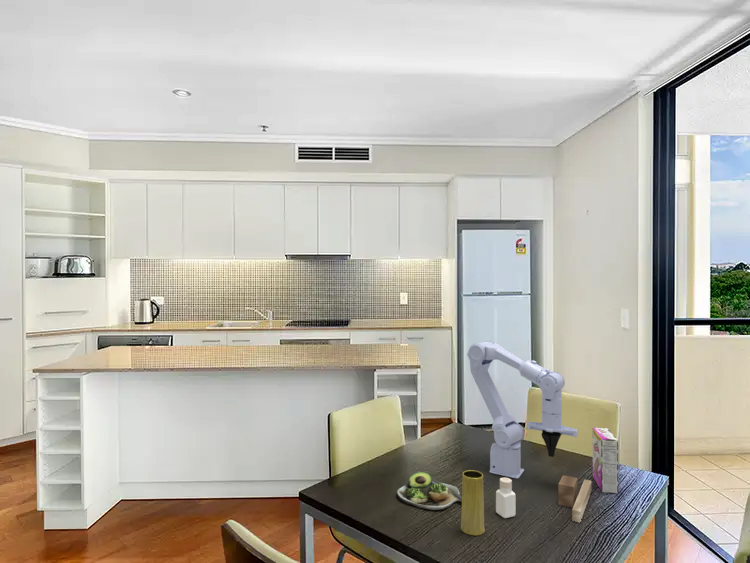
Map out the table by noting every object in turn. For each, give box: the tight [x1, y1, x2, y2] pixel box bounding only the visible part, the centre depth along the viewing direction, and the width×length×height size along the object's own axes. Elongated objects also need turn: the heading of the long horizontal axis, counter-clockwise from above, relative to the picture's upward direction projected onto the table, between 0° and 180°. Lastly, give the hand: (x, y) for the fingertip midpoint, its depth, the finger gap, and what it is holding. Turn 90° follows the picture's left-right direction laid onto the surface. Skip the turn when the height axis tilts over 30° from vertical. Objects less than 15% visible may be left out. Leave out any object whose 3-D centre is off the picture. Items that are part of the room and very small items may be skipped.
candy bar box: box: [591, 427, 619, 495], centre depth 145 cm, size 11×5×16 cm, turn 168°
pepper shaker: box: [495, 477, 517, 519], centre depth 127 cm, size 4×4×10 cm
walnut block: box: [557, 475, 578, 509], centre depth 135 cm, size 4×7×6 cm, turn 148°
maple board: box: [571, 478, 592, 524], centre depth 133 cm, size 2×22×3 cm, turn 148°
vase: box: [460, 469, 486, 537], centre depth 120 cm, size 6×6×14 cm
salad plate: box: [396, 471, 462, 511], centre depth 138 cm, size 19×18×5 cm
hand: (551, 455), depth 145 cm, fingers closed
